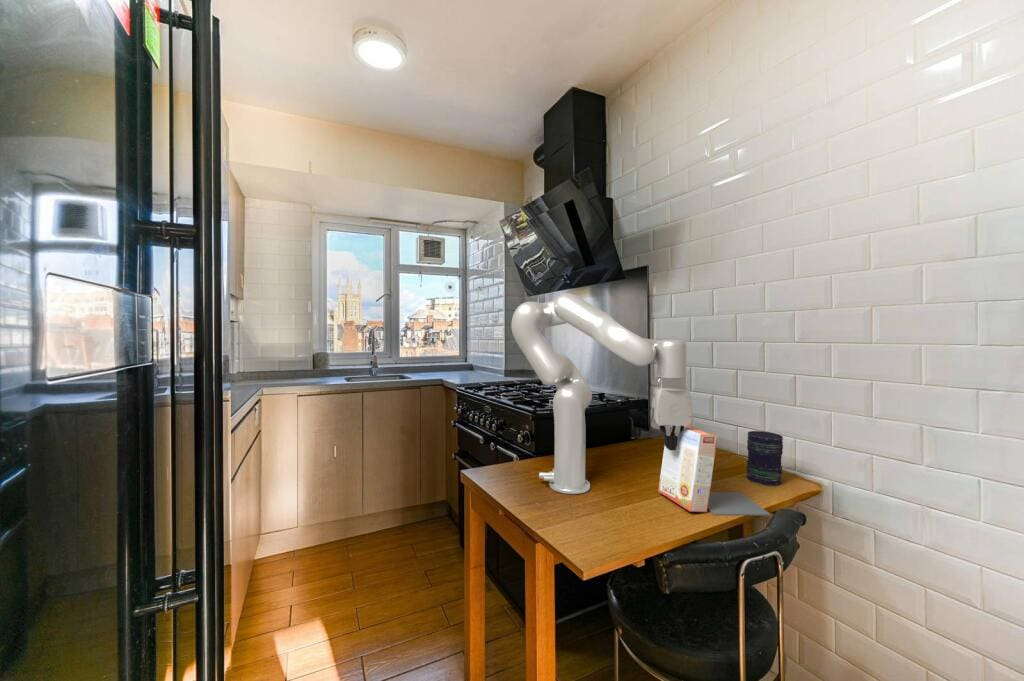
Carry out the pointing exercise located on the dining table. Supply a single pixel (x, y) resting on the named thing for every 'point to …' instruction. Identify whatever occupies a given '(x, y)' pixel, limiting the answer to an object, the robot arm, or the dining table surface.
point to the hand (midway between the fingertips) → (670, 448)
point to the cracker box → (689, 469)
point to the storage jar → (764, 458)
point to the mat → (733, 504)
